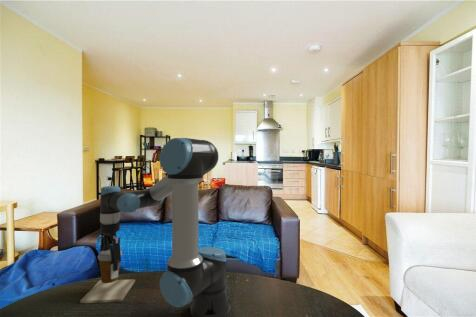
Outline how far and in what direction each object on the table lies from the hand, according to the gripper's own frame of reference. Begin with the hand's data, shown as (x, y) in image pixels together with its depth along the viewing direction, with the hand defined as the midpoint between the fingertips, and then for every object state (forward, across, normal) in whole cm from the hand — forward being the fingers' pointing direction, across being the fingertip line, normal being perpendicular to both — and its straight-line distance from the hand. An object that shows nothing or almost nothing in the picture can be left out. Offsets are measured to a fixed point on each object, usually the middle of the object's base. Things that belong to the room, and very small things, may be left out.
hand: (109, 274), depth 105 cm
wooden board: (+7, 0, 0) cm, 7 cm away
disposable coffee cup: (+3, 0, 0) cm, 3 cm away
